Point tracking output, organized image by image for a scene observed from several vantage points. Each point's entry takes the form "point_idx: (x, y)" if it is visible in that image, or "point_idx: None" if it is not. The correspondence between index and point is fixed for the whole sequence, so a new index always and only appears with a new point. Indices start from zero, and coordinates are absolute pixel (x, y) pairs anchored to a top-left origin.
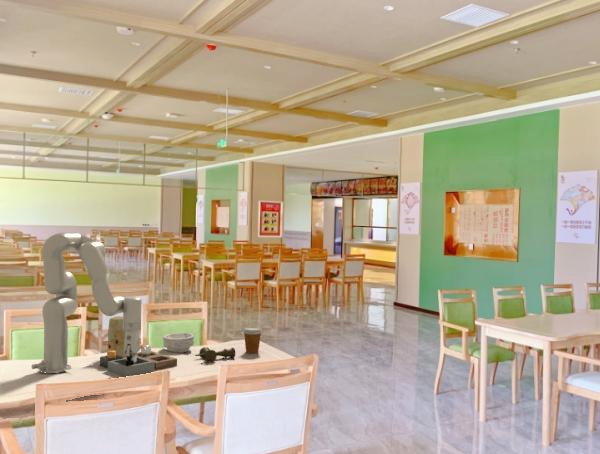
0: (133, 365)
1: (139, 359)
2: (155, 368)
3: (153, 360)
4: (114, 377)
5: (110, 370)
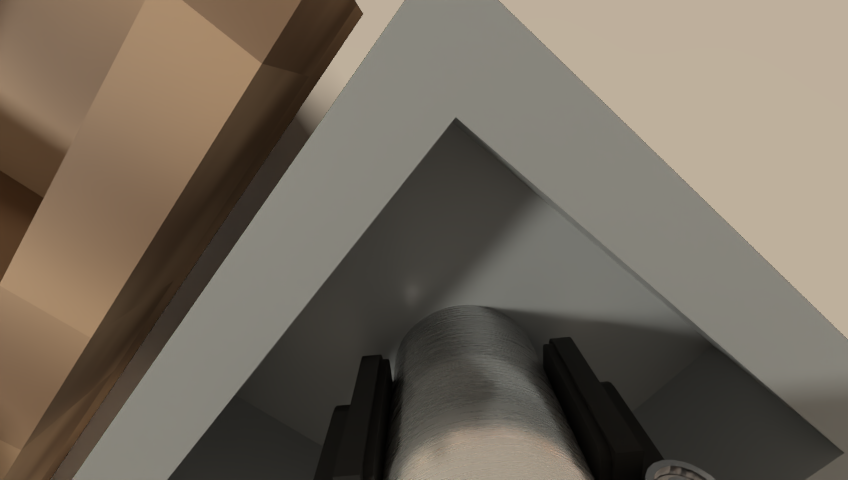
0: (820, 356)
1: (222, 406)
2: (343, 15)
3: (117, 118)
4: None
5: None
